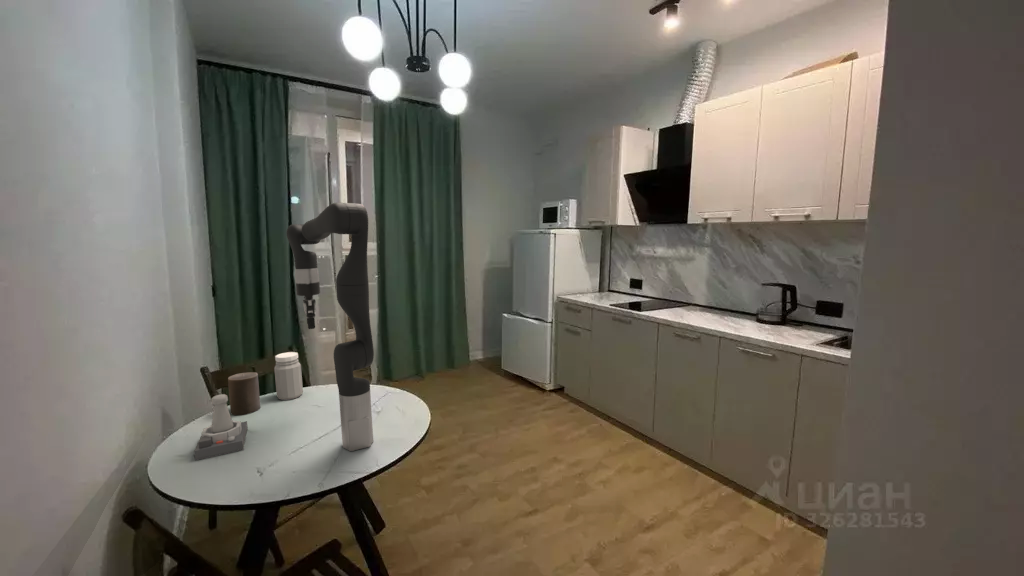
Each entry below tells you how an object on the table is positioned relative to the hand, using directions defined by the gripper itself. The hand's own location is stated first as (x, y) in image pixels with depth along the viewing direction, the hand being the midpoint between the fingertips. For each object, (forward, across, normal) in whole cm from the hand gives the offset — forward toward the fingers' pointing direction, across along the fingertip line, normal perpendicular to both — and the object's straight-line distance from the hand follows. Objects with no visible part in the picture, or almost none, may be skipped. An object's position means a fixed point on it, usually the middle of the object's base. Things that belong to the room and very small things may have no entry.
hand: (311, 326), depth 145 cm
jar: (+34, -29, -9) cm, 46 cm away
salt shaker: (+31, +6, -28) cm, 42 cm away
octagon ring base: (+34, +6, -28) cm, 45 cm away
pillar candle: (+34, -22, -24) cm, 47 cm away
